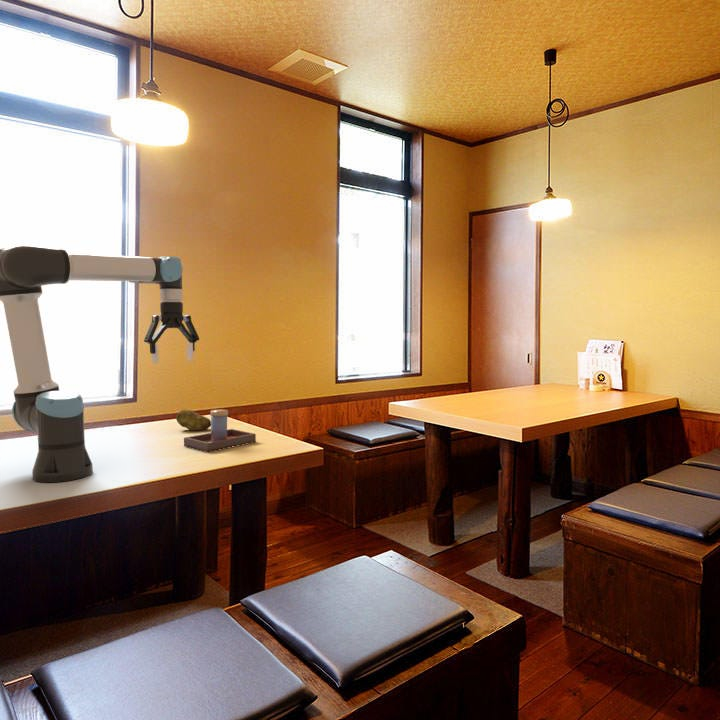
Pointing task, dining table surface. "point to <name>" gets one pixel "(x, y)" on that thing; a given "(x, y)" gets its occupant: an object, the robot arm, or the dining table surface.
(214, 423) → the shaker
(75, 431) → the robot arm
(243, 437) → the tray
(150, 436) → the dining table surface
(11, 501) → the dining table surface
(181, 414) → the potato
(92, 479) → the dining table surface
